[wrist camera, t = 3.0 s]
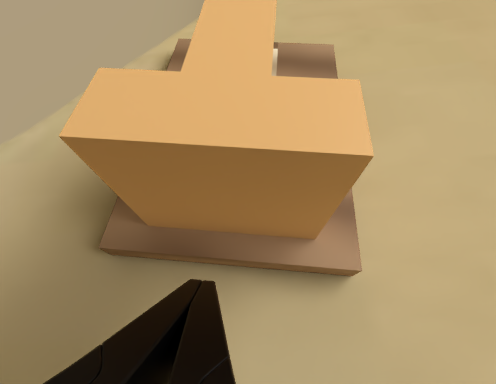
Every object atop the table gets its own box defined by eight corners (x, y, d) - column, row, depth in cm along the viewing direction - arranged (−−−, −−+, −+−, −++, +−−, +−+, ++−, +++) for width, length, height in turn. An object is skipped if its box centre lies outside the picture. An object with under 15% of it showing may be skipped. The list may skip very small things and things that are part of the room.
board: (352, 276, 15) (362, 270, 14) (110, 254, 16) (98, 247, 14) (329, 59, 25) (333, 44, 24) (182, 53, 26) (178, 38, 25)
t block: (315, 239, 15) (373, 156, 8) (148, 225, 15) (58, 135, 8) (310, 115, 19) (343, -7, 12) (183, 108, 20) (146, -12, 13)
